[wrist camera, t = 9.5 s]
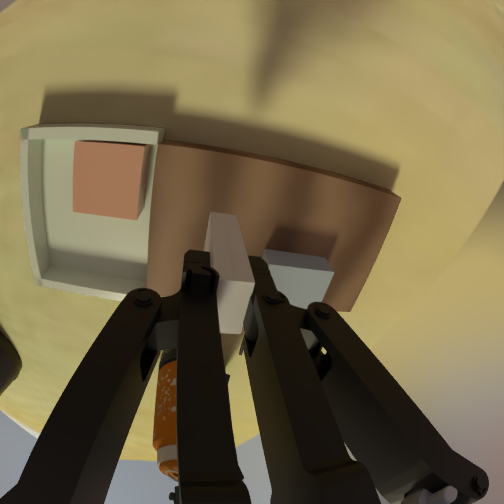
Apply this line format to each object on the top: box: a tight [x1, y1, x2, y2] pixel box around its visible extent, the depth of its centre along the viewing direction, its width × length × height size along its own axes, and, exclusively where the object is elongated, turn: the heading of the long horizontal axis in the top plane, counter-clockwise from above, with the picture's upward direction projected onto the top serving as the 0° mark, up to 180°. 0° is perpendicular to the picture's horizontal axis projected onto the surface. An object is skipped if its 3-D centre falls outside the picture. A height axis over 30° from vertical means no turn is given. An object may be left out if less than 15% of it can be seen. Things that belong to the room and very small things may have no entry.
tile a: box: [73, 140, 151, 220], centre depth 20 cm, size 6×6×2 cm
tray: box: [20, 123, 165, 301], centre depth 21 cm, size 13×16×3 cm
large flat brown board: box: [147, 140, 401, 312], centre depth 25 cm, size 22×14×2 cm, turn 77°
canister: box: [153, 350, 244, 504], centre depth 26 cm, size 9×11×20 cm
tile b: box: [262, 249, 334, 309], centre depth 25 cm, size 6×6×2 cm
